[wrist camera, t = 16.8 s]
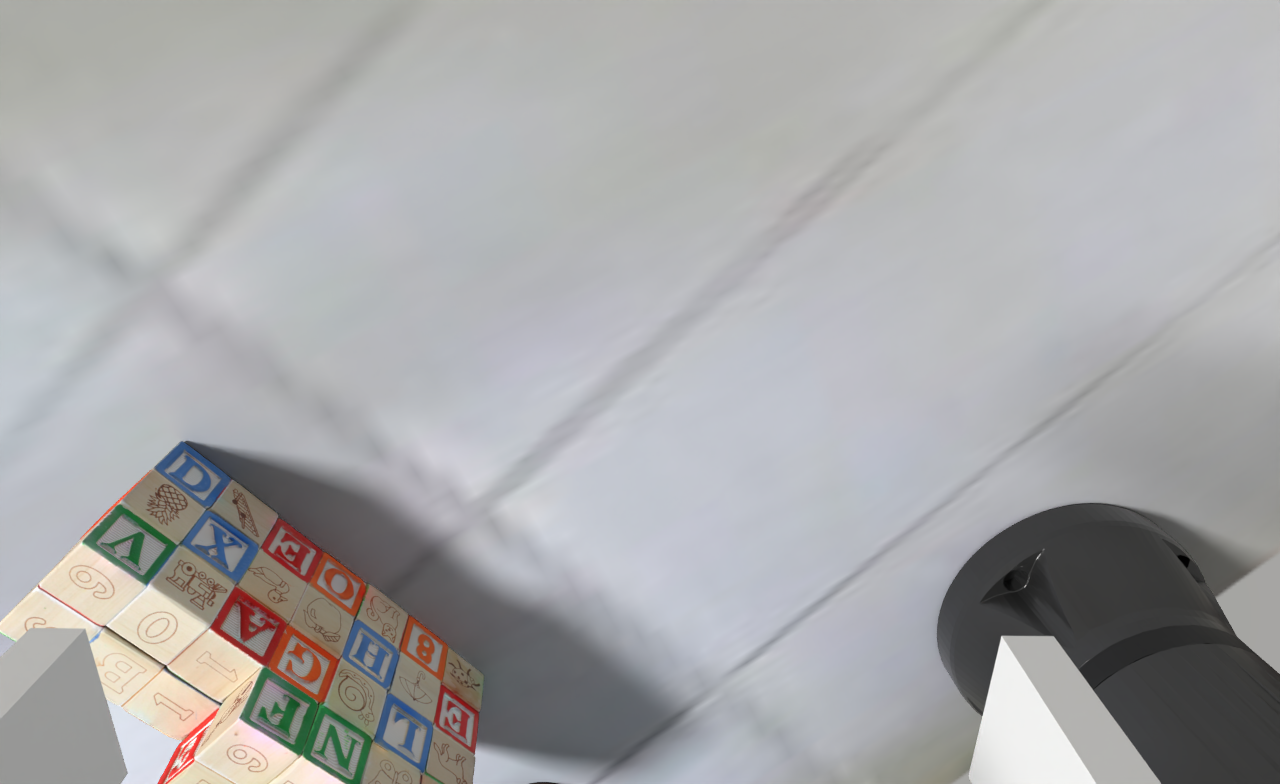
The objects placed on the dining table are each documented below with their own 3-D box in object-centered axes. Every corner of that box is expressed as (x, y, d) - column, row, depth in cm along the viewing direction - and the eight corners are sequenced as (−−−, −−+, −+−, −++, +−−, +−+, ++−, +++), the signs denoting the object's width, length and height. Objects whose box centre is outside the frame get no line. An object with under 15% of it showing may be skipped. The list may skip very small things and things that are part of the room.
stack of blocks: (105, 511, 42) (-64, 679, 31) (183, 436, 41) (37, 582, 30) (415, 732, 50) (370, 934, 38) (489, 674, 48) (465, 865, 37)
